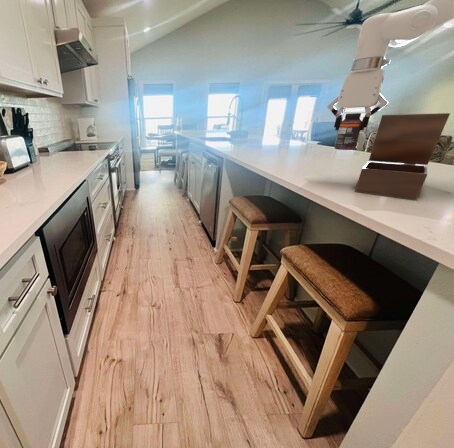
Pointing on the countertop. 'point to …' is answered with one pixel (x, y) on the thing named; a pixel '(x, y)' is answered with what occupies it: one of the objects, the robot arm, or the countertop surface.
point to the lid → (408, 137)
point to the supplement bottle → (348, 132)
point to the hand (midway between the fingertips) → (349, 129)
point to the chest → (392, 179)
